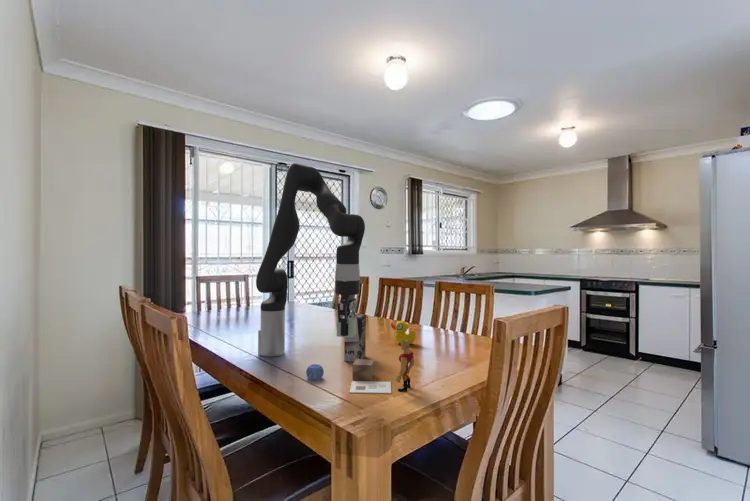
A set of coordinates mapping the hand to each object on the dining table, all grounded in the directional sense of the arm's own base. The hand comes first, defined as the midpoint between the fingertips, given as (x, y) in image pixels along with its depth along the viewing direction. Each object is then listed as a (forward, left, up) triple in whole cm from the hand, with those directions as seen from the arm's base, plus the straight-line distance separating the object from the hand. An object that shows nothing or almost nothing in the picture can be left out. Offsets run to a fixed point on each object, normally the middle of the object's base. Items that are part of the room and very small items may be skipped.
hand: (346, 333), depth 120 cm
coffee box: (-3, +26, -15) cm, 30 cm away
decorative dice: (-11, +2, -16) cm, 19 cm away
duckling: (+13, +52, -15) cm, 56 cm away
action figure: (+18, -2, -15) cm, 24 cm away
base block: (+4, +6, -15) cm, 17 cm away
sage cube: (0, 0, 0) cm, 0 cm away
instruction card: (+8, -3, -15) cm, 18 cm away
